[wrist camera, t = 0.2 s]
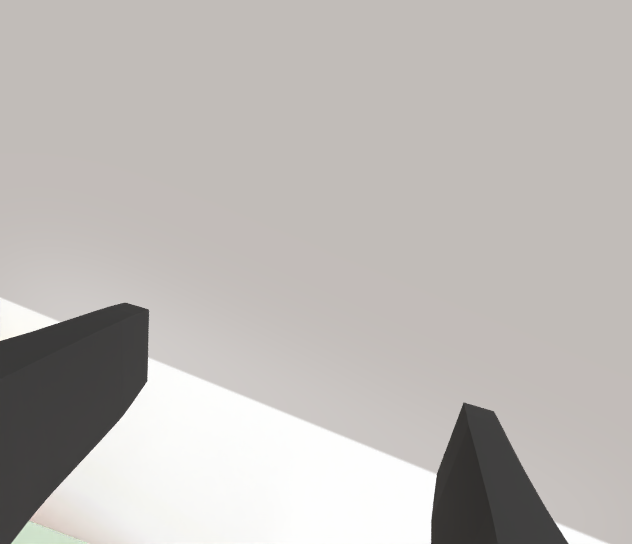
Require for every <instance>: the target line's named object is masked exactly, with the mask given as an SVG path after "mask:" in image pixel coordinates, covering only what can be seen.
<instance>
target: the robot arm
mask: <svg viewBox="0 0 632 544" xmlns="http://www.w3.org/2000/svg"><path fill="white" fill-rule="evenodd" d="M148 325H149V310H148V309H145V308H142V307H138V306H135V305H131V304H128V303H122V304H118V305H114V306H110V307H107V308H104V309H100V310H97V311H94V312H91V313H88V314H85V315H82V316H79V317H76V318H73V319H70V320H67V321H64V322H61V323H58V324H54V325H51V326H48V327H45V328H42V329H39V330H36V331H33V332H30V333H26V334H23V335H19V336H16V337H13V338H9V339H6V340H2V341H0V544H11V543H12V542H13V541H14V539H15V538H16V537H17V535H18V534H19V533H20V532H21V530H22V529H23V528H24V526H25V525H26V524H27V522H28V521H29V520H30V518H31V517H32V516H33V515H34V513H35V512H36V511H37V510H38V509H39V507H40V506H41V505H42V504H43V503H44V502H45V500H46V499H47V498H48V497H49V496H50V495H51V493H52V492H53V491H54V490H55V489H56V488H57V487H58V486H59V485H60V484H61V483H62V482H63V480H64V479H65V478H66V477H67V476H68V475H69V474H70V473H71V472H72V471H73V470H74V469H75V468H76V467H77V465H78V464H79V463H80V462H81V461H82V460H83V459H84V458H85V457H86V456H87V455H88V454H89V453H90V451H91V450H92V449H93V448H94V447H95V446H96V445H97V444H98V443H99V442H100V441H101V440H102V438H103V437H104V436H105V435H106V434H107V433H108V432H109V431H110V430H111V429H112V427H113V426H114V425H115V424H116V423H117V422H118V421H119V420H120V419H121V417H122V416H123V415H124V414H125V412H126V411H127V409H128V408H129V407H130V405H131V404H132V403H133V401H134V400H135V398H136V397H137V395H138V394H139V392H140V391H141V389H142V388H143V386H144V385H145V383H146V382H147V371H148V327H149V326H148ZM431 544H568V542H567V541H566V539H565V538H564V536H563V535H562V533H561V532H560V530H559V528H558V527H557V525H556V524H555V522H554V521H553V519H552V517H551V516H550V514H549V512H548V511H547V510H546V507H545V506H544V504H543V502H542V500H541V499H540V497H539V495H538V494H537V492H536V490H535V488H534V487H533V485H532V483H531V481H530V479H529V478H528V476H527V474H526V472H525V470H524V469H523V467H522V465H521V463H520V461H519V459H518V458H517V455H516V454H515V452H514V450H513V448H512V446H511V444H510V442H509V440H508V438H507V436H506V434H505V432H504V430H503V428H502V426H501V424H500V422H499V420H498V418H497V416H496V415H495V413H494V411H491V410H487V409H484V408H480V407H477V406H473V405H470V404H467V403H463V406H462V409H461V411H460V414H459V417H458V419H457V422H456V425H455V427H454V430H453V433H452V435H451V438H450V441H449V443H448V446H447V449H446V451H445V454H444V457H443V460H442V462H441V465H440V468H439V470H438V473H437V478H436V486H435V494H434V502H433V511H432V520H431Z"/></svg>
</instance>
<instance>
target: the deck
mask: <svg viewBox="0 0 632 544" xmlns="http://www.w3.org/2000/svg"><path fill="white" fill-rule="evenodd" d="M11 544H89V543H87V542H84V541H81V540H79V539H76V538H73V537H71V536H68V535H65V534H63V533H60V532H57V531H55V530H52V529H49V528H47V527H44V526H41V525H39V524H36V523H33V522H31V521H28V522H27V524H26V525H25V526H24V528H23V529H22V530H21V532H20V533H19V534H18V535H17V537H16V538H15V539H14V541H13V542H12V543H11Z"/></svg>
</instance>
